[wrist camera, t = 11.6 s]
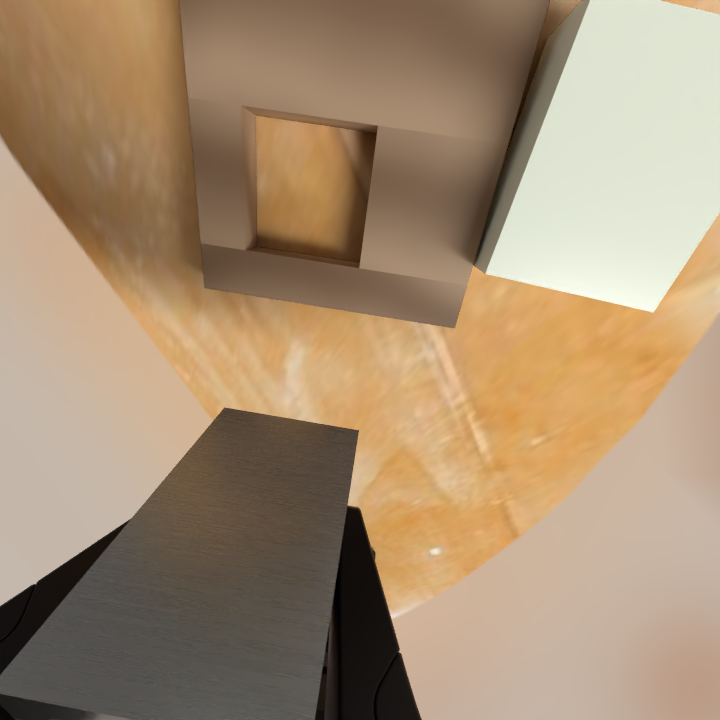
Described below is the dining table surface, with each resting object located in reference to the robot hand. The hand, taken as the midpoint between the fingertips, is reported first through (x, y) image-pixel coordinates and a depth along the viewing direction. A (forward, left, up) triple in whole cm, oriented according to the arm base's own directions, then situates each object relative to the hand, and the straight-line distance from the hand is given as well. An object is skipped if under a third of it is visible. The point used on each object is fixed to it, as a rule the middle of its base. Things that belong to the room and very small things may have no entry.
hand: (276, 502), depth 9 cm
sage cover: (+10, -10, -11) cm, 18 cm away
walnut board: (+10, 0, -11) cm, 15 cm away
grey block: (0, 0, -1) cm, 1 cm away
